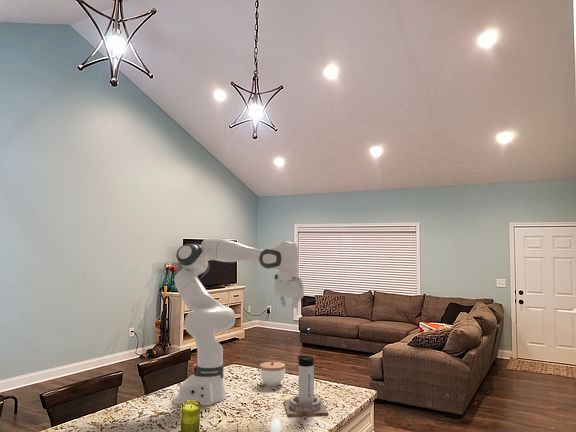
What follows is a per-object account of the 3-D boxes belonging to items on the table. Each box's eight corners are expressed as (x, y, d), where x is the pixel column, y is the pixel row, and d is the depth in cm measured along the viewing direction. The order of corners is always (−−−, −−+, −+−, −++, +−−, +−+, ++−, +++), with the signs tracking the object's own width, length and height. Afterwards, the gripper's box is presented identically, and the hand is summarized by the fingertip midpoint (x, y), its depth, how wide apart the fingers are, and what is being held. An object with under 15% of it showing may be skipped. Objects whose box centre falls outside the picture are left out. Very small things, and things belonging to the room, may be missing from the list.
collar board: (287, 416, 166) (287, 407, 166) (283, 402, 182) (283, 394, 182) (328, 415, 167) (328, 405, 168) (320, 401, 183) (320, 392, 184)
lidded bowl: (256, 381, 212) (257, 358, 213) (281, 379, 216) (281, 356, 217) (263, 389, 200) (263, 364, 201) (288, 386, 204) (288, 362, 205)
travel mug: (299, 403, 178) (299, 354, 180) (315, 404, 176) (315, 355, 178) (295, 408, 172) (295, 357, 174) (311, 410, 170) (311, 358, 172)
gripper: (307, 277, 189) (307, 308, 187) (283, 275, 206) (283, 304, 205) (295, 277, 185) (295, 309, 184) (272, 275, 203) (271, 305, 201)
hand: (288, 306), depth 194 cm, fingers open, 8 cm apart
